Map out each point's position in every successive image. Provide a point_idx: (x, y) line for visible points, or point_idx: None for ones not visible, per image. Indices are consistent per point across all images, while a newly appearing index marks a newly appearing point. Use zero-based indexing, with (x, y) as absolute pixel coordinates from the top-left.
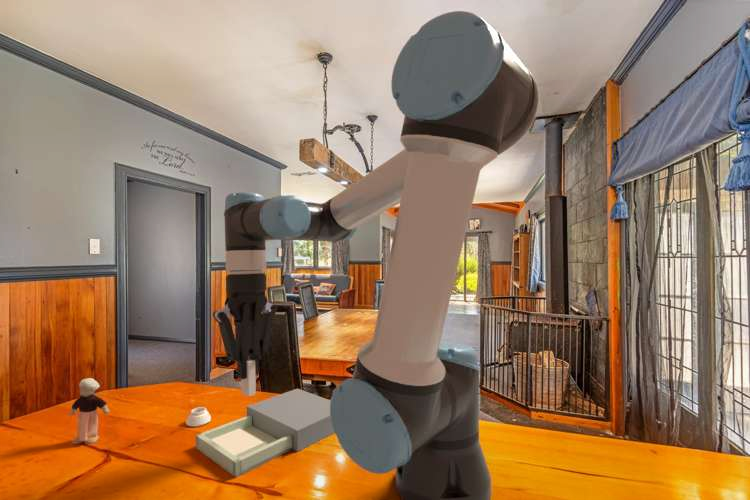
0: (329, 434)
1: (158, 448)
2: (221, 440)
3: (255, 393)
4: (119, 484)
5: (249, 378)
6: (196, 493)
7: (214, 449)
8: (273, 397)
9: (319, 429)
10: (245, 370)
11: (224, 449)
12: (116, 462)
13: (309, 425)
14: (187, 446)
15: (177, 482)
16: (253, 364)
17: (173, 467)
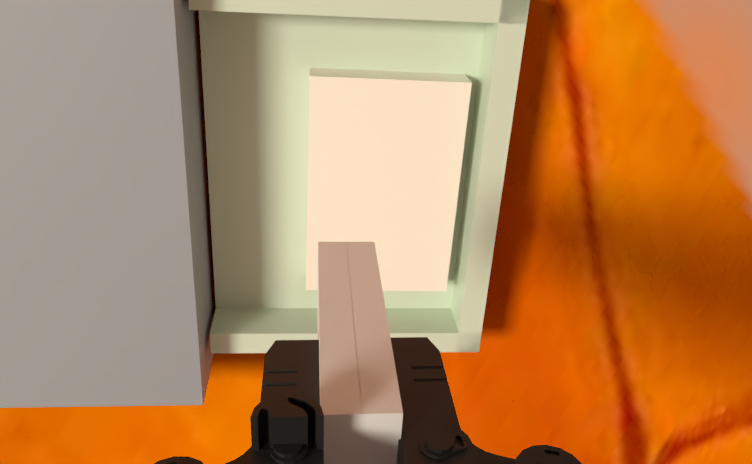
0: None
1: (544, 411)
2: (423, 250)
3: (320, 244)
4: (740, 288)
5: (378, 312)
6: (659, 20)
7: (500, 191)
8: (31, 400)
9: None
10: (405, 379)
11: (485, 147)
12: (666, 419)
13: None
14: (477, 354)
15: (646, 149)
16: (340, 388)
17: (593, 255)
